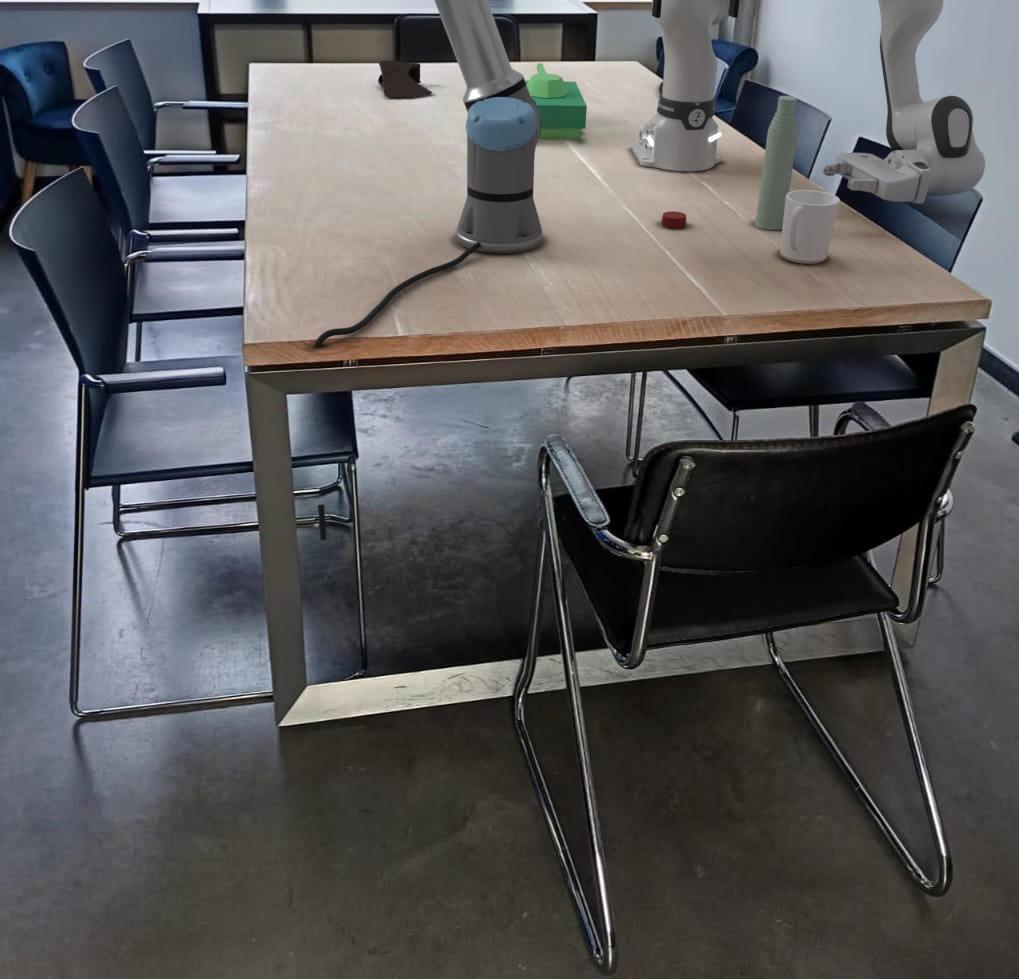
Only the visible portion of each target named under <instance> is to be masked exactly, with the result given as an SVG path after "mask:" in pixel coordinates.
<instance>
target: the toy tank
mask: <svg viewBox="0 0 1019 979" xmlns="http://www.w3.org/2000/svg"><path fill="white" fill-rule="evenodd" d="M536 70H537V73H534V74H533V75H532V76H530V78H529V80H525V82H526V85H527V88H528V90H529V93H530V96H531V97H532V99H533V100H534V101H535V103H536V105H537V106H538V108H539V111H540V114H541V120H542V122H541V124H542V127H541V133H540V137H539V139H538V141H539V140H541V141H545V140H546V141H581V140H582V133H583V130H585V129H586V127H587V124H586V123H587V110H588V109H587V108H588V104H587V103H586V101H585V99H584V97H583V94H582V92H581V90H580V88H579V87H578V86H579V85H578V84H577V82H576V81H569V80H568V81H565V80H563V77H562V76H560V75H558V74H556V73H547V72H546V68H545V67H544V64H543V63H536Z"/></svg>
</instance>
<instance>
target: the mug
mask: <svg viewBox="0 0 1019 979" xmlns="http://www.w3.org/2000/svg"><path fill="white" fill-rule="evenodd" d="M840 200H841V199H840V197H838V196H837V195H835V194H832V193H829V192H825V191H822V190H821V191H820V190H813V189H797V190H792V191H789V193H787V194H786V200H785V209H784V219H783V228H782V229H781V239H780V248H779V254H780V257H782V258H783V259H785V260H787V261H790V262H793V263H797V264H805V265H806V264H809V265H813V264H819V263H823V262H824V261H825V260H827V258H828V253H829V248H830V245H831V240H832V236H833V231H834V227H835V223H836V218H837V213H838V209H839V205H840Z"/></svg>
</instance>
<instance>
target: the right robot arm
mask: <svg viewBox="0 0 1019 979" xmlns="http://www.w3.org/2000/svg"><path fill="white" fill-rule="evenodd" d="M745 1H746V0H740V2H739V7H740V6H741V5H743V3H744V2H745ZM877 2H878V7H879V13H880V27H881V28H880V35H879V53H880V63H881V69H882V77H883V84H884V90H885V100H886V106H887V107H886V108H887V115H886V116H887V117H886V125H885V128H886V129H885V136H886V140H887V143H888V145H889V147H890V149H891V150H892V151H891V152H890V153H889V154H888V155H887V156H886V157H885V158H881V157H879V156H876V155H875V154H873V153H869V152H867V153H866V152H840V153H838V154H836V156H835V158H834V159H835V160H834V163H830V164H824V165H823V167H822V174H823V175H825V176H827V177H832V176H833V177H834V176H835V175H839V176H841V177H844V179H847V180H848V181H847V186H846V187H847V189H849V190H850V191H861V192H866V193H871V194H873V195H874V196H877V197H878V198H880V199H882V200H883V201H884V200H885V201H888V202H892V203H909V202H910V203H912V204H916V205H923V204H924V203H925V201H926V197H927V195H928V196H931V197H944V196H952V195H959V194H963V193H966V192H968V191H970V190H972V189H973V188H975V187H976V186H977V185H978V184H979V182H980V181H981V179H983V175H984V173H985V169H986V158H985V155H984V153H983V152H982V150H981V149H980V148H979V146H978V145H977V142H976V139H975V135H974V130H973V126H974V116H973V111H972V109H971V107H970V105H969V103H968V102H967V101H966V100H965V99H963V98H961V97H959V96H957V95H947V96H946V95H945V96H941V97H938V98H932V99H930V100H927V101H924V100H923V99H922V97H921V92H920V85H919V78H918V69H917V62H916V57H917V56H916V55H917V51H918V47H919V45H920V43H921V41H922V39H923V38H924V37H925V36H926V34H927V33H928V32H929V31H930V30H931V29H932V28H933V27H934V26H935V24H936V23H937V21H938V19H939V17H940V15H941V13H942V11H943V8H944V0H877ZM729 4H730V0H662V5H661V17H660V18H655V17H654V16H653V17H654V19H655V21H656V23H657V24H658V25H659V29H660V32H661V37H662V43H663V52H664V53H663V54H664V68H663V80H662V81H661V82H660V84H659V86H658V93H659V99H658V102H657V108H656V113H655V114H654V115H653V116H652V118H650V120H649V121H648V122H646V124H644V127H643V129H640V130H639V140H640V141H642V142H639V143H634V144H632V145H631V150H632V152H633V154H634V156H635V158H636V159H637V161H638V163H639V164H640V166H643V167H650V168H657V169H661V170H662V169H663V170H665V171H666V170H667V171H674V172H675V171H676V172H697V171H698V172H699V171H700V172H701V171H705V170H710V169H711V168H713V167H714V166H715V165H717V164H720V163H721V162H722V156H720V155H718V152H717V151H718V138H720V137H722V133H721V132H718V131H719V126H718V123H717V122H716V121H715V120H714V118H713V117H714V116H715V110H716V98H715V90H716V80H717V73H718V64H719V63H718V58H717V56H716V54H715V52H714V49H713V44H712V36H711V28H712V26H715V25H718V24H720V23H723V22H724V21H725V20H727V19H728V18H730V16H729V15H728V12H729ZM652 7H653V0H651V8H652Z"/></svg>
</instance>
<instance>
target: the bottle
mask: <svg viewBox="0 0 1019 979" xmlns="http://www.w3.org/2000/svg"><path fill="white" fill-rule="evenodd" d="M777 101H778V102H777V107H776V112H775V113H774V116H773V117H772V120H771V122H770V124H769V126H768V128H767V135H766V143H765V150H764V151H765V152H764V156H763V164H762V172H761V178H760V184H759V185H760V186H759V193H758V199H757V208H756V214H755V221H754V226H755V227H756V228H758V229H762V230H767V231H777V230H778V231H779V230H782V228H783V219H784V209H785V200H786V194H787V193H789V192H790V188H791V187H790V186H791V182H792V174H793V167H794V162H795V155H796V149H797V143H798V135H799V126H798V122H797V121H798V120H797V118H796V117H797V114H796V108H797V103H798V98H797V97H796V96H793V95H781V96H779V97H778V98H777Z"/></svg>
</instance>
